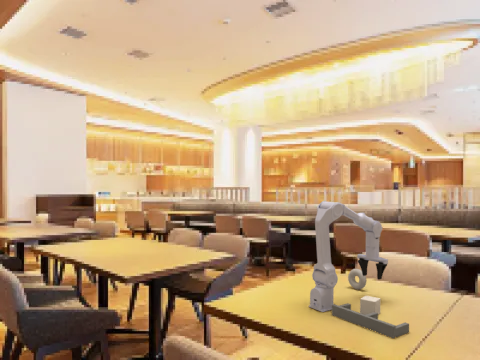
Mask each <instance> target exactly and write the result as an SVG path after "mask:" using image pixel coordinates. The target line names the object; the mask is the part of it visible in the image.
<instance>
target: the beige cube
mask: <svg viewBox="0 0 480 360" xmlns="http://www.w3.org/2000/svg"><path fill="white" fill-rule="evenodd" d="M359 300H360V302H359V313H361V314H364V315H367V314H370V313H373V312H376V313H378V316H379V315H380V314H381V298H380V297H375V296H370V295H364V296H363V297H361V298H360V299H359Z"/></svg>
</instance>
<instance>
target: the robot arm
mask: <svg viewBox="0 0 480 360" xmlns="http://www.w3.org/2000/svg"><path fill="white" fill-rule="evenodd" d="M341 216H344V217H345V218H348V219H350V220H352V221H353V224H354V225H356V226H357V227H359V228H360V229H362V230H363V231H364V232H365V254H362V253H358V254H357V259H358V260H357V263H358V264H359V267H360V270H361V271H362V274H363V276H366V277H367V275H368V267H369V261H370V262H375V267H376V279H377V280H378V281H379V280H382V279H383V275H384V272H385V270H386V268H387V266H388V265H389V259H388V258H383V257H380V237H381V233H382V231H383V227H384V226H382V223H381V221H379V220H374V219H373V217H372V216H367V215H366V213H365V212H358V213H357V212H356V211H354V210H352V209H351V208H349V207H348V206H347V205H345V203H341V202H339V201H336V202H333V201H326V200H324V201H323V200H322V201H321V202H320V203H319V204H318V205H317V206H316V216H315V219H314V226H315V242H316V243H315V244H316V259H317V261H316V262H317V263H315V264H314V265H313V271H312V275H311V276H312V280H313V282H314V284H315V286H314V287H313V288H311V290H310V293H309V305H308V308H311V309H314V310H316V311H319V312H321V313H324V312H328V311H332V305H334V293H335V291H334V288H335V286H337V284H338V275H337V273H336V267H335V266H334V264H332V257H331V254H332V253H331V243H330V241H331V240H330V238H331V237H330V225H331V224H332V223H333V222H335V221H336V220H337V219H340V217H341Z"/></svg>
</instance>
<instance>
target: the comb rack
mask: <svg viewBox="0 0 480 360" xmlns="http://www.w3.org/2000/svg"><path fill="white" fill-rule="evenodd" d="M331 316H334V317H336V318H339V319H341V320H343V321H346V322H350V323H351V324H355V325H356V324H357V326H360V327H362V328H364V327H365V329H367V328H368V330H370V329H371V330H370V331H372V330H373V331H372V332H375V331H376V332H375V333H377V332H378V333H377V334H380V333H381V334H380V335H383V334H384V335H383V336H385V335H386V337H388V336H389V337H388V338H390V337H391V339H395V337H396V338H399V337H400V336H401V337H402V336H403V335H405V334H409V333H410V323H408V322H403V323H399V324H397V325H395V324H392V323H389V322H386V321H384V320H381V319H379V315H378V313H376V312H373V313H370V314H367V315H364V314H361V313H360V312H358V311H355V310H352V304H351V303H348V302H347V303H343V304H339V305H338V304H335V303H333V305H332V310H331Z"/></svg>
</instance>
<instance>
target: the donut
mask: <svg viewBox="0 0 480 360" xmlns="http://www.w3.org/2000/svg"><path fill="white" fill-rule="evenodd" d="M356 277H358V280H359V281H358V282H357V280H356ZM347 279H348V283H349V285H350V286H351V288H352V289H355V290H358V291H360V290H363V289H364V288H365V287H366V285H367V275H366V276H363V274H362V270H361V268H353V269H351V270H350V271H349V273H348V275H347Z"/></svg>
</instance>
